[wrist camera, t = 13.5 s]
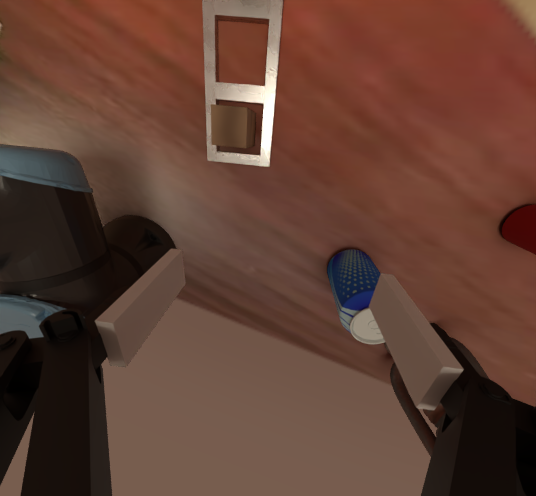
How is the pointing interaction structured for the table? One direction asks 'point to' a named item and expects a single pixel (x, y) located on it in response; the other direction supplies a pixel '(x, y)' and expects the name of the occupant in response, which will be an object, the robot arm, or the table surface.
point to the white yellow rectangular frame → (253, 11)
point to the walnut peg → (232, 126)
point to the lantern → (433, 415)
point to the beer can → (355, 293)
